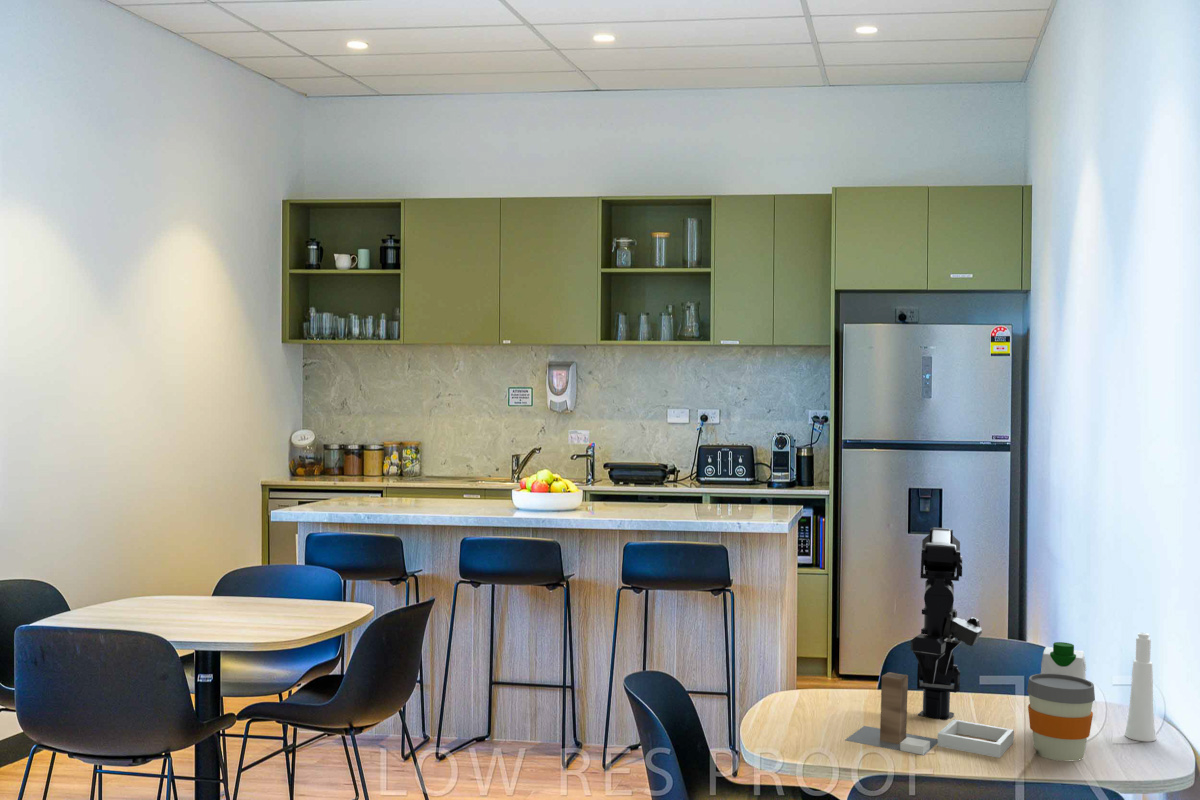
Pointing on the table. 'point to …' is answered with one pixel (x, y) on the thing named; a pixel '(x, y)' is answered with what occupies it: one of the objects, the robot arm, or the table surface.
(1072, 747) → the reusable coffee cup
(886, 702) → the walnut handle
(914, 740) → the tile on board
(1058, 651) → the milk carton
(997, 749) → the box
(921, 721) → the table surface
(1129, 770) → the table surface
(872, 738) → the slate board
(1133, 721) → the cosmetic bottle
